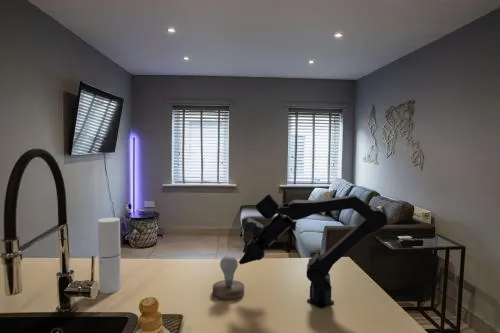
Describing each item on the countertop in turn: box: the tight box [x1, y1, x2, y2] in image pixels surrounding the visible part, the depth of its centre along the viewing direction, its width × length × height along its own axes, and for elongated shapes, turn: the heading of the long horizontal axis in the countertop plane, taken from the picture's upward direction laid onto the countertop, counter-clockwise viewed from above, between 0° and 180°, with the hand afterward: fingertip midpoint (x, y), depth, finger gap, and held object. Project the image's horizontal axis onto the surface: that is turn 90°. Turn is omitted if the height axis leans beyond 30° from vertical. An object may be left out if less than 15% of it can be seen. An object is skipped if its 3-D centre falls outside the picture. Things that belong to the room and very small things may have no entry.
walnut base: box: [212, 279, 245, 301], centre depth 122 cm, size 11×11×2 cm
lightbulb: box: [219, 254, 239, 287], centre depth 122 cm, size 6×6×11 cm
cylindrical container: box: [97, 216, 122, 294], centre depth 123 cm, size 7×7×25 cm
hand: (242, 258), depth 121 cm, fingers open, 9 cm apart
